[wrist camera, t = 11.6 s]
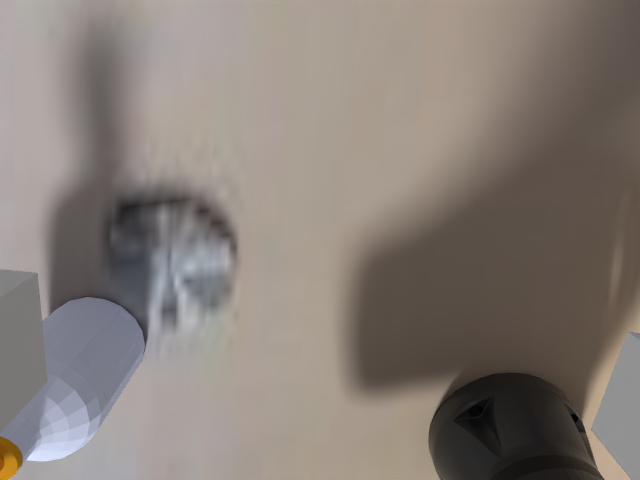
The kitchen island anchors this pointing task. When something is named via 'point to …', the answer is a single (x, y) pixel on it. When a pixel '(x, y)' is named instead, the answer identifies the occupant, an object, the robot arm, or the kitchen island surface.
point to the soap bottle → (74, 381)
